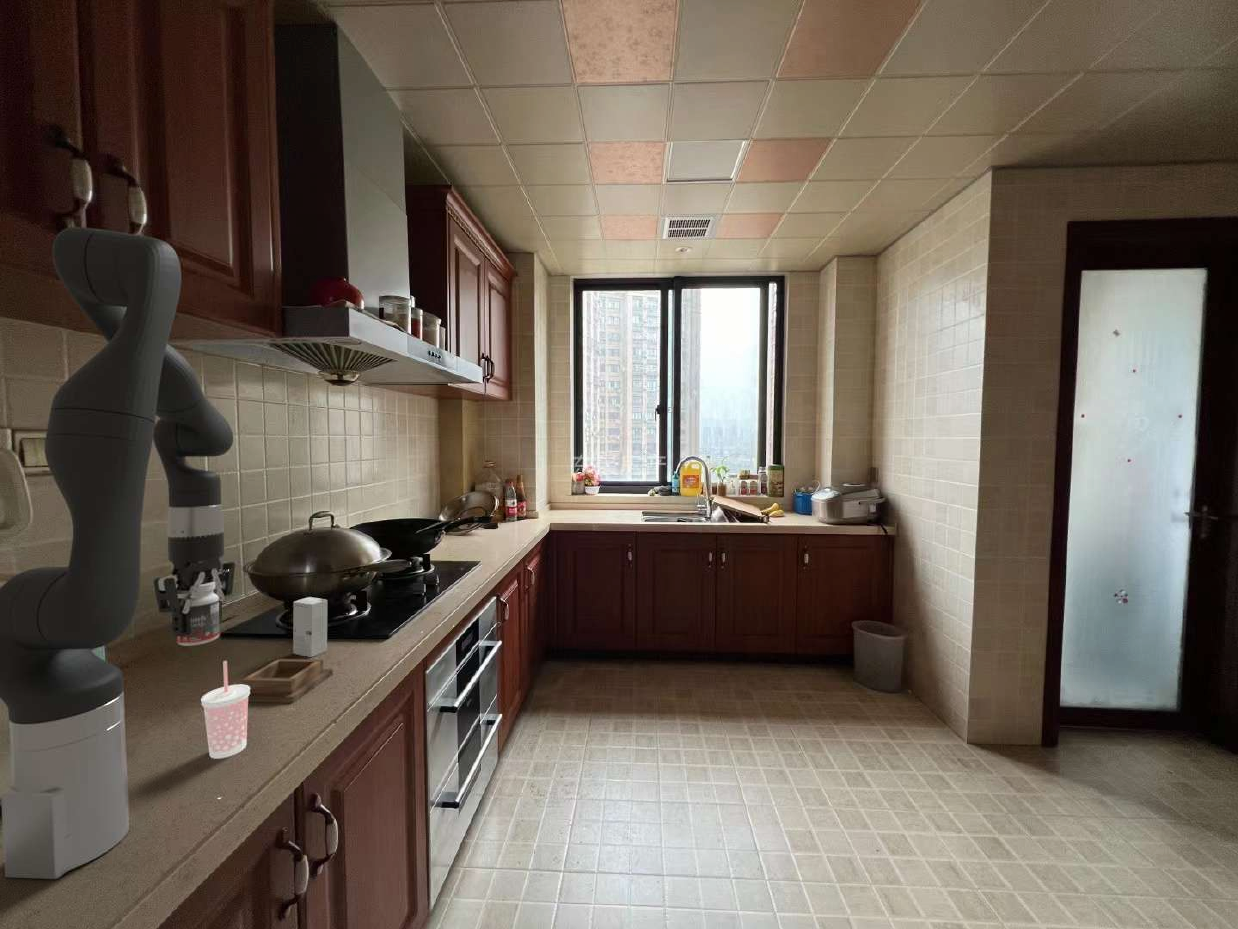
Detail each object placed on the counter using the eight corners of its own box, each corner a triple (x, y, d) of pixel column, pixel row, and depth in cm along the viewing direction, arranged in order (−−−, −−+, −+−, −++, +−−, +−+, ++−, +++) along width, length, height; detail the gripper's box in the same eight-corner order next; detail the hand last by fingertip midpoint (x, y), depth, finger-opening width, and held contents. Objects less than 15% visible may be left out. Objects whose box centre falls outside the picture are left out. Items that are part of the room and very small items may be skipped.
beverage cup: (214, 742, 84) (211, 656, 83) (258, 736, 85) (255, 651, 85) (195, 764, 78) (191, 672, 77) (242, 757, 80) (239, 666, 79)
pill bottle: (169, 648, 87) (168, 589, 87) (187, 637, 92) (186, 581, 92) (210, 644, 89) (209, 586, 88) (225, 633, 94) (224, 578, 94)
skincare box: (292, 654, 119) (290, 601, 119) (310, 647, 123) (308, 596, 123) (311, 658, 117) (310, 604, 117) (329, 650, 121) (327, 598, 121)
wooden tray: (293, 702, 97) (292, 683, 96) (231, 701, 97) (230, 682, 97) (332, 674, 109) (332, 657, 108) (277, 673, 109) (276, 656, 109)
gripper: (180, 538, 83) (182, 644, 83) (248, 526, 97) (251, 616, 98) (134, 538, 83) (137, 644, 84) (210, 526, 98) (212, 616, 98)
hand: (198, 628), depth 91 cm, fingers closed on pill bottle, 5 cm apart
